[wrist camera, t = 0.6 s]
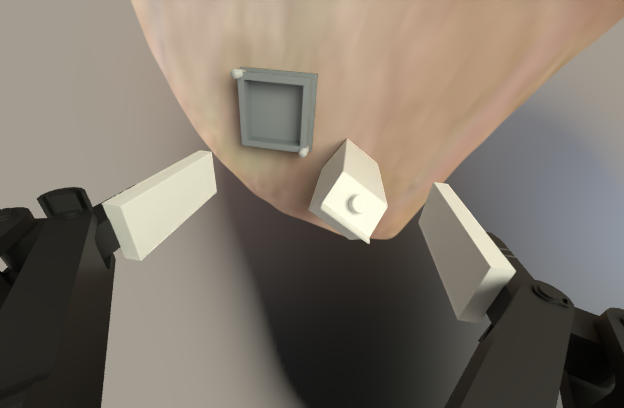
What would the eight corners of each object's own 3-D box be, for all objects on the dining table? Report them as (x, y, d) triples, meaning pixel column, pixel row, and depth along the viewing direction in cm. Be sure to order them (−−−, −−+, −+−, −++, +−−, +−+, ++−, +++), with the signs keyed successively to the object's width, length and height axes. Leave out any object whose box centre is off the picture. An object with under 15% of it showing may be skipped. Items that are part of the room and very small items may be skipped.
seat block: (242, 66, 38) (228, 66, 34) (317, 74, 37) (313, 75, 33) (247, 142, 44) (235, 150, 40) (311, 150, 43) (307, 159, 39)
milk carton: (351, 190, 46) (348, 260, 29) (321, 168, 44) (302, 227, 28) (378, 163, 42) (392, 224, 26) (347, 137, 41) (341, 185, 25)
